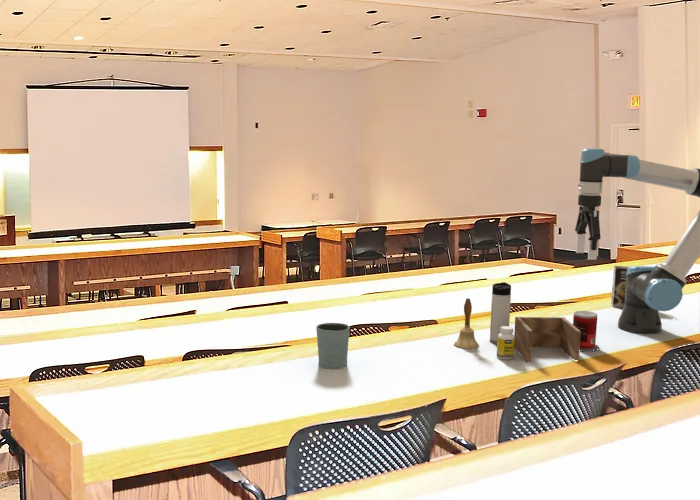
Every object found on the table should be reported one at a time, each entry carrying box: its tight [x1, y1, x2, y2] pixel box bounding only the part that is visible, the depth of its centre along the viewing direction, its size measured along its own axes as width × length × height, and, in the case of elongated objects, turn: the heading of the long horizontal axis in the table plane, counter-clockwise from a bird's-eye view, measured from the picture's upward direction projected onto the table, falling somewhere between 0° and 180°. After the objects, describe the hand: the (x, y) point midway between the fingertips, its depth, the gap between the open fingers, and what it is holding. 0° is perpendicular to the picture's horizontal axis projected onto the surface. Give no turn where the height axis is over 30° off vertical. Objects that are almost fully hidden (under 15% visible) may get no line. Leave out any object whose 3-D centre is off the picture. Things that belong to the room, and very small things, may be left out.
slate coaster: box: [579, 343, 600, 352], centre depth 289 cm, size 10×10×1 cm
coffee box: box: [610, 265, 630, 309], centre depth 352 cm, size 9×6×16 cm
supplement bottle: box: [496, 325, 515, 361], centre depth 274 cm, size 5×5×10 cm
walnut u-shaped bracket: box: [513, 316, 581, 363], centre depth 280 cm, size 16×18×10 cm
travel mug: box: [489, 281, 512, 345], centre depth 292 cm, size 6×7×20 cm
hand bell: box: [453, 298, 480, 350], centre depth 287 cm, size 8×8×16 cm
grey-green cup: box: [316, 322, 351, 370], centre depth 262 cm, size 10×10×12 cm
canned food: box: [572, 310, 598, 349], centre depth 288 cm, size 8×8×11 cm
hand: (585, 256), depth 298 cm, fingers open, 13 cm apart
